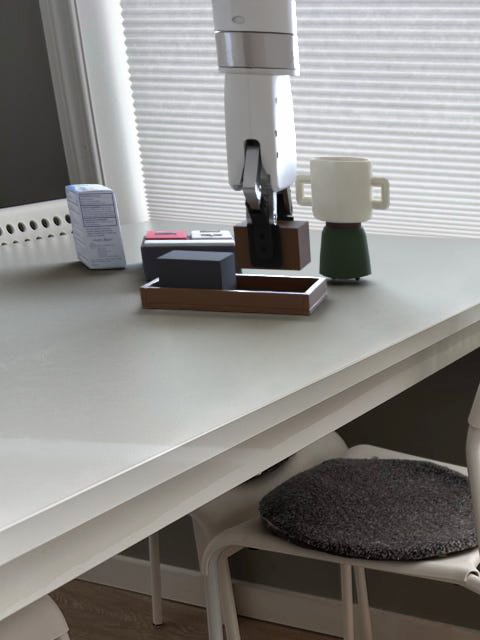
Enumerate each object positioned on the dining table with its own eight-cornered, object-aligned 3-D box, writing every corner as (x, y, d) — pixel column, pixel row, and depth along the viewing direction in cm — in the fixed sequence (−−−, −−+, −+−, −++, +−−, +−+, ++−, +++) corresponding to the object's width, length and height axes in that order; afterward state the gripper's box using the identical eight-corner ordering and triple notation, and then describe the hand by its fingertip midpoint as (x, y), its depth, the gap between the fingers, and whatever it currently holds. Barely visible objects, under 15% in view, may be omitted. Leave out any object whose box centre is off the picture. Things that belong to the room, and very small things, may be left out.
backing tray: (141, 308, 96) (139, 287, 95) (172, 290, 105) (169, 271, 104) (310, 315, 96) (308, 294, 95) (327, 296, 104) (326, 277, 103)
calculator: (232, 228, 122) (239, 238, 109) (235, 264, 124) (243, 278, 111) (142, 228, 119) (139, 239, 106) (147, 265, 121) (144, 280, 108)
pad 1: (161, 299, 98) (155, 258, 96) (178, 289, 103) (173, 250, 101) (223, 302, 98) (219, 260, 96) (237, 292, 102) (233, 252, 100)
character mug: (395, 277, 116) (394, 158, 109) (385, 288, 110) (383, 162, 103) (307, 273, 116) (301, 154, 110) (293, 283, 110) (285, 158, 104)
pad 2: (237, 268, 96) (232, 225, 94) (250, 259, 101) (246, 219, 99) (300, 270, 96) (297, 228, 94) (311, 261, 101) (308, 221, 99)
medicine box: (127, 268, 115) (116, 190, 111) (89, 270, 113) (75, 190, 109) (113, 258, 121) (101, 183, 117) (76, 260, 119) (63, 184, 115)
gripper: (241, 58, 96) (258, 248, 106) (190, 53, 82) (215, 275, 91) (314, 60, 96) (325, 250, 106) (277, 56, 82) (292, 278, 91)
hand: (274, 260), depth 98 cm, fingers closed on pad 2, 5 cm apart
